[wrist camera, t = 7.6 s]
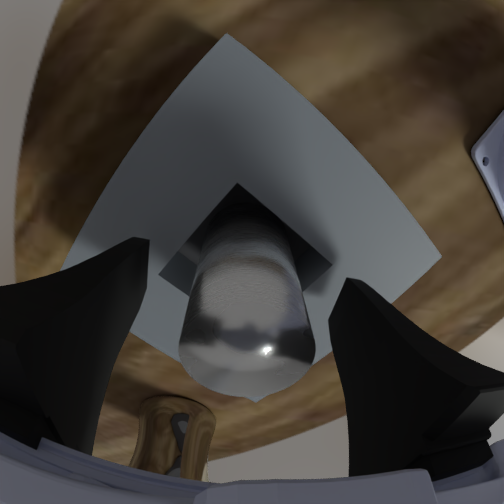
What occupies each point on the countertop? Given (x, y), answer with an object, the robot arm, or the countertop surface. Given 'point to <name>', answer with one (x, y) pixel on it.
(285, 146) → the hole block
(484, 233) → the countertop surface
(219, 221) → the peg
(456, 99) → the countertop surface
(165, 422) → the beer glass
